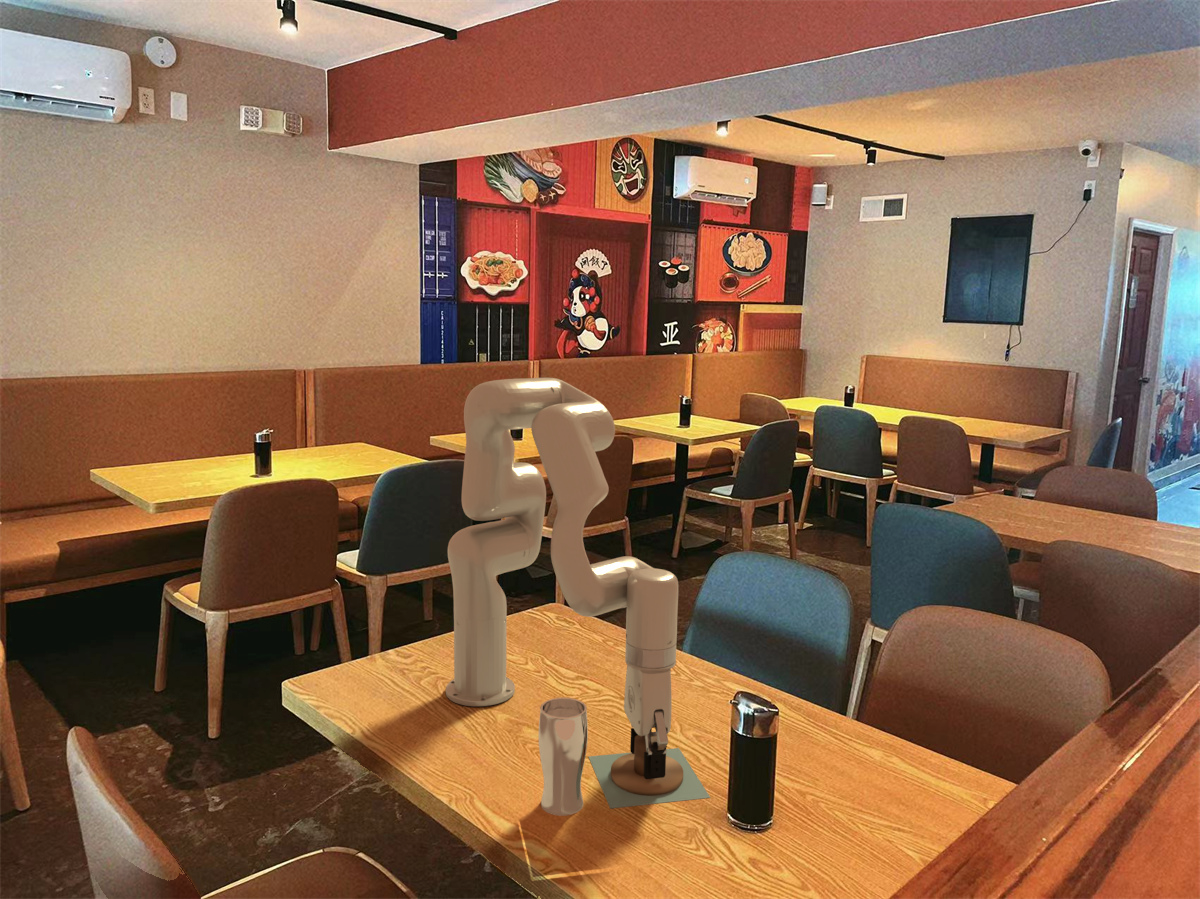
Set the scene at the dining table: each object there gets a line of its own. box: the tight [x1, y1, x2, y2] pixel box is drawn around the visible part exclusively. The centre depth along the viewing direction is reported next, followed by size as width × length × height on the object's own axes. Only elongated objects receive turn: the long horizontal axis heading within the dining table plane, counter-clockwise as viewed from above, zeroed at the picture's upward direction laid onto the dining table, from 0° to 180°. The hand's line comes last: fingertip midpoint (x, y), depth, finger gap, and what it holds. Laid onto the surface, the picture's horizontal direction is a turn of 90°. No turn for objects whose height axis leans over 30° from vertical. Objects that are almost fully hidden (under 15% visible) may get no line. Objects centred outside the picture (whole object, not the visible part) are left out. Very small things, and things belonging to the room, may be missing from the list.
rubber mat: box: [587, 747, 711, 810], centre depth 135 cm, size 15×15×1 cm
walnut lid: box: [611, 735, 683, 796], centre depth 135 cm, size 11×11×6 cm
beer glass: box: [537, 697, 589, 817], centre depth 126 cm, size 7×7×15 cm
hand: (647, 763), depth 135 cm, fingers open, 6 cm apart
